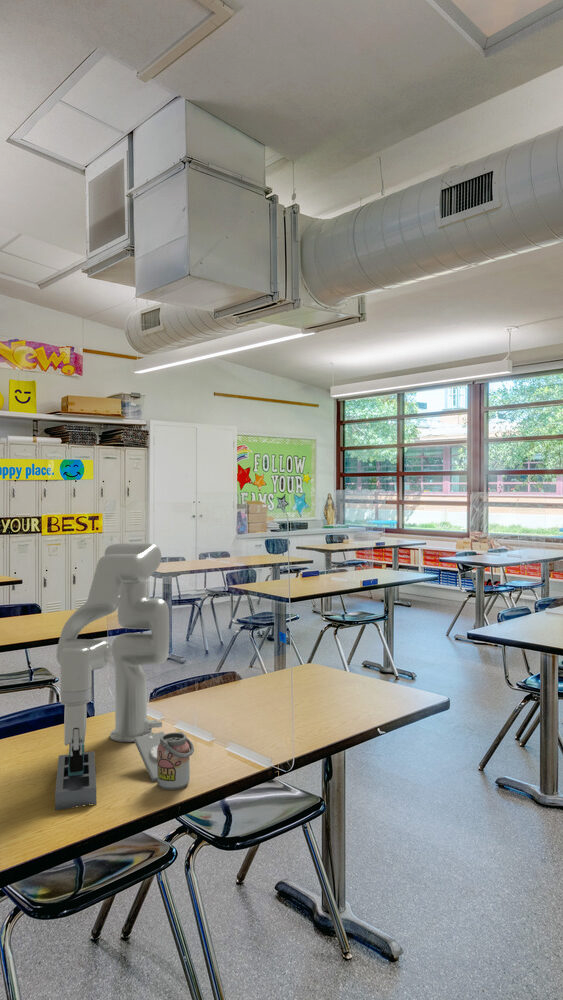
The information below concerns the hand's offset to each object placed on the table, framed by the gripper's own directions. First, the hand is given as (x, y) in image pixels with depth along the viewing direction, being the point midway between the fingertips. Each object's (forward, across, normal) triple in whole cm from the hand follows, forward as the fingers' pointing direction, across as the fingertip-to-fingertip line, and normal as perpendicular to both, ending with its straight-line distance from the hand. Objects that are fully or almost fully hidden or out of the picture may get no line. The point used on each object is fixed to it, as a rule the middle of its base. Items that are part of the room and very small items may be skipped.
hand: (76, 767), depth 159 cm
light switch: (+5, -4, +21) cm, 22 cm away
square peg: (+3, 0, 0) cm, 3 cm away
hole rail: (+5, 0, 0) cm, 5 cm away
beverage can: (+5, +7, +24) cm, 26 cm away
